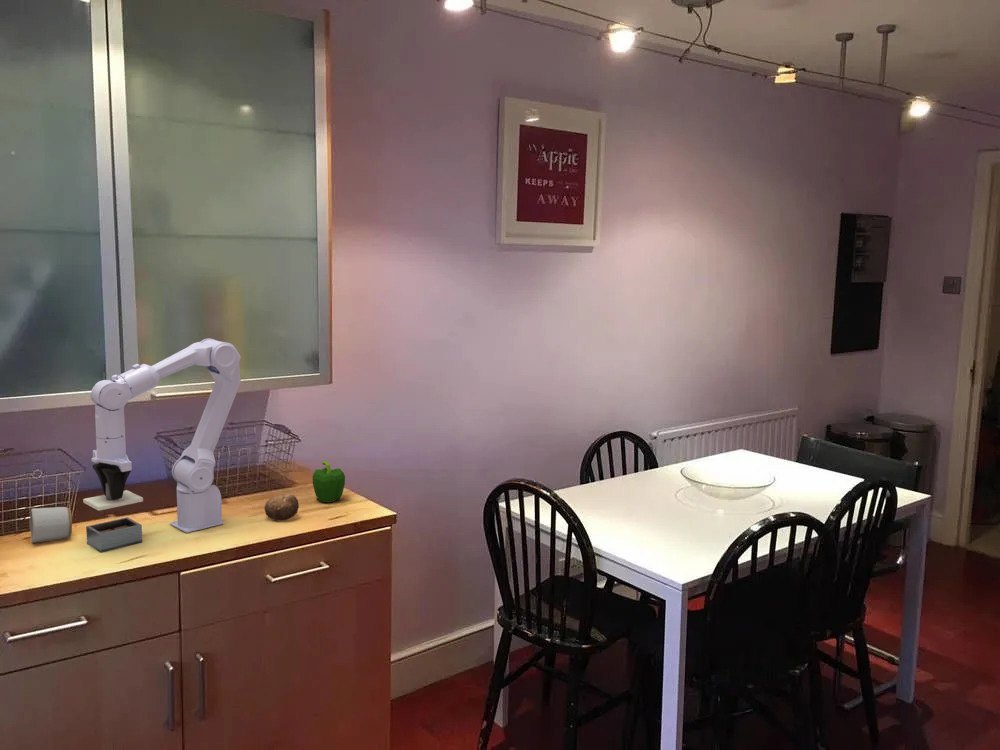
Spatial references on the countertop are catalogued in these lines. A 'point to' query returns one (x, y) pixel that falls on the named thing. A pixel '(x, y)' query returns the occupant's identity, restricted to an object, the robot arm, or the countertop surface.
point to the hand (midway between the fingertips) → (113, 496)
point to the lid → (107, 502)
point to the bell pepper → (328, 483)
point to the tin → (114, 534)
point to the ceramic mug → (50, 523)
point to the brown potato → (282, 507)
